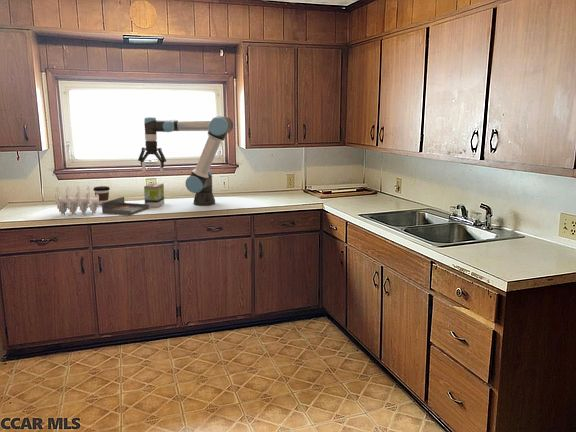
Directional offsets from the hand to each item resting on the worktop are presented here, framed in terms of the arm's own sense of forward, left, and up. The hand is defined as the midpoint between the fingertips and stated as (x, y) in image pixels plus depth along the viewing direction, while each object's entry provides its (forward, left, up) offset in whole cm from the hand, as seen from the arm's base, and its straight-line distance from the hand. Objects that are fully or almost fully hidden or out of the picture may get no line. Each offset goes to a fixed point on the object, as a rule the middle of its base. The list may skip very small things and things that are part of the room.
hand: (152, 171), depth 325 cm
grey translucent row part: (+32, +38, -24) cm, 55 cm away
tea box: (0, 0, -24) cm, 24 cm away
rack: (+8, +22, -23) cm, 33 cm away
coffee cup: (+37, +7, -24) cm, 44 cm away
